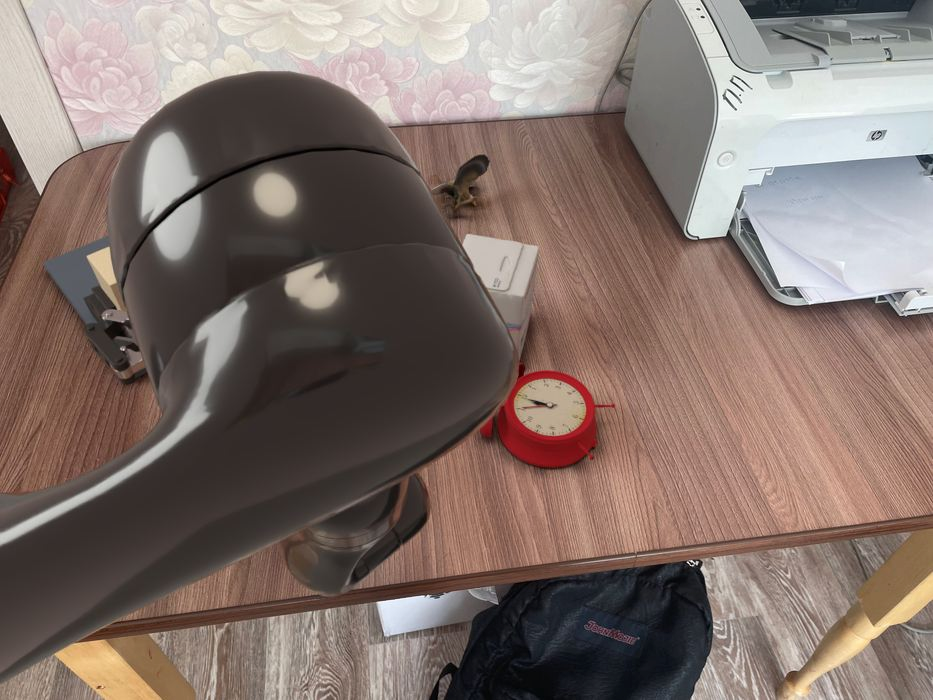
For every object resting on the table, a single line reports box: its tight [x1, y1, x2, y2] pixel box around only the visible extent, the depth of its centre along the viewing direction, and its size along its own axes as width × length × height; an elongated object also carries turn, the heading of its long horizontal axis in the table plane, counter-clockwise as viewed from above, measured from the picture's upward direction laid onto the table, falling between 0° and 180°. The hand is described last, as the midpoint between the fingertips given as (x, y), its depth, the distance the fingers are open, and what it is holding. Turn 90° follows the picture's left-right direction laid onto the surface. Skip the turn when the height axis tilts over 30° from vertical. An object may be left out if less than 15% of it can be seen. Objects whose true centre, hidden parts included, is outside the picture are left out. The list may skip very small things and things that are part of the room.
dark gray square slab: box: [42, 235, 148, 379], centre depth 87 cm, size 24×23×4 cm
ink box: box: [461, 233, 540, 362], centre depth 79 cm, size 9×9×12 cm
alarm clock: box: [479, 361, 616, 469], centre depth 74 cm, size 10×6×15 cm
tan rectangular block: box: [87, 246, 127, 312], centre depth 78 cm, size 4×6×9 cm
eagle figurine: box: [431, 153, 491, 218], centre depth 99 cm, size 8×7×9 cm
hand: (144, 273), depth 64 cm, fingers open, 8 cm apart
